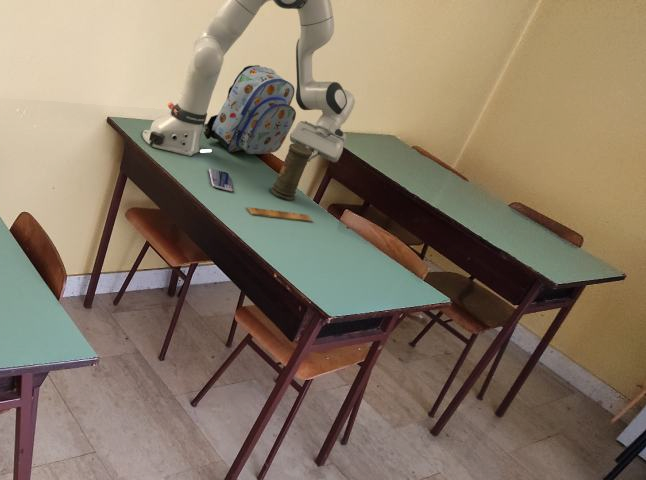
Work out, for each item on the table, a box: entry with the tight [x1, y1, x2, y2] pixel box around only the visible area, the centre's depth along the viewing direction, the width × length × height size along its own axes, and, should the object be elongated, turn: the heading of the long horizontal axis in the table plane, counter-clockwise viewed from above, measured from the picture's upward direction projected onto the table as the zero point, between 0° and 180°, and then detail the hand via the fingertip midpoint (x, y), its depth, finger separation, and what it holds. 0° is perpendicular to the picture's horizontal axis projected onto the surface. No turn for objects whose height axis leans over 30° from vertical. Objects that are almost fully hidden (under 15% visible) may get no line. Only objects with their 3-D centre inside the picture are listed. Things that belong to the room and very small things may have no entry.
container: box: [270, 143, 313, 201], centre depth 219 cm, size 9×9×18 cm
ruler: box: [247, 207, 313, 223], centre depth 208 cm, size 24×4×1 cm, turn 110°
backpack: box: [203, 64, 297, 155], centre depth 242 cm, size 33×25×31 cm
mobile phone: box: [208, 168, 234, 192], centre depth 216 cm, size 8×1×15 cm
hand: (305, 159), depth 226 cm, fingers closed
